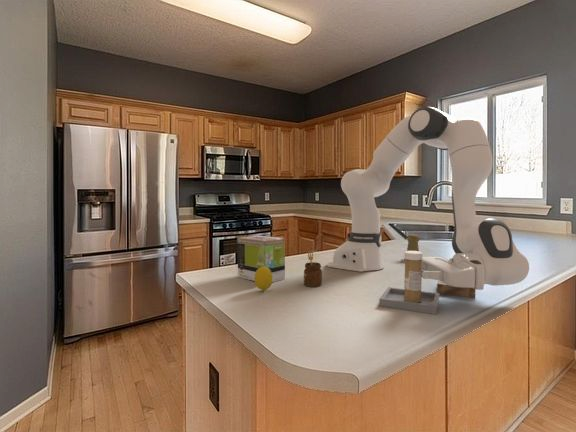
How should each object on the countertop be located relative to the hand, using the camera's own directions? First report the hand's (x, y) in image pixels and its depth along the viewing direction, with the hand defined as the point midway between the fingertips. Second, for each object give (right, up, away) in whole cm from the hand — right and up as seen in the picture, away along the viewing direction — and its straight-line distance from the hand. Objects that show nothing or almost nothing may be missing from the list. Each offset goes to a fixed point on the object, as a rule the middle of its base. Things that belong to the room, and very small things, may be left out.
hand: (414, 270), depth 91 cm
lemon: (-42, -9, +13) cm, 45 cm away
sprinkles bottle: (0, -8, 0) cm, 9 cm away
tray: (-1, -9, +1) cm, 9 cm away
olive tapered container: (+22, -5, +60) cm, 64 cm away
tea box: (-44, -8, +29) cm, 53 cm away
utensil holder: (-26, -8, +19) cm, 34 cm away
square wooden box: (+17, -8, +12) cm, 22 cm away
